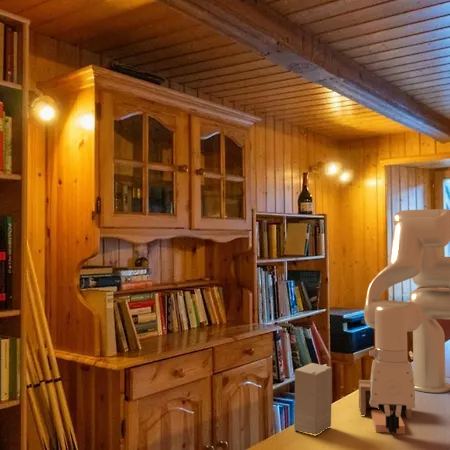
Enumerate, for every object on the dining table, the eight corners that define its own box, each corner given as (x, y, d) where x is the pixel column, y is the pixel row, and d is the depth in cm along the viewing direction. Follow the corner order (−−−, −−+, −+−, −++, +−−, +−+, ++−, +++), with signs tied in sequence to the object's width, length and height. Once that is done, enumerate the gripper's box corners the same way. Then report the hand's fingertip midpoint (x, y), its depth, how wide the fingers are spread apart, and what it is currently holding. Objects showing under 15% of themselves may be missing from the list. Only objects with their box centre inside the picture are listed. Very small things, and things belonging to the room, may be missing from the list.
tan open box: (359, 407, 156) (358, 378, 156) (406, 409, 154) (406, 380, 154) (361, 416, 148) (360, 386, 148) (411, 418, 146) (411, 388, 146)
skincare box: (309, 422, 143) (309, 361, 144) (334, 428, 139) (333, 365, 139) (292, 432, 137) (291, 368, 137) (317, 438, 132) (316, 372, 133)
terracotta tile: (371, 418, 148) (371, 409, 148) (398, 419, 147) (398, 411, 147) (375, 433, 136) (375, 424, 136) (405, 435, 135) (404, 426, 135)
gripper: (361, 358, 132) (362, 435, 131) (426, 359, 129) (427, 438, 129) (358, 351, 139) (359, 424, 139) (420, 353, 137) (421, 427, 136)
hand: (392, 431), depth 134 cm, fingers closed
